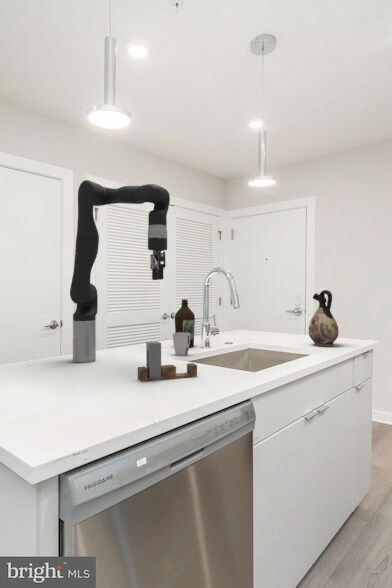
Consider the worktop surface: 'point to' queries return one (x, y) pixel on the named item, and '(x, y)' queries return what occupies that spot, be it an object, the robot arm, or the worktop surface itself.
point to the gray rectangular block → (153, 359)
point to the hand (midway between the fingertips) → (157, 279)
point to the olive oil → (185, 321)
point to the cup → (181, 343)
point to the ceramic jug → (323, 322)
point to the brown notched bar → (168, 372)
